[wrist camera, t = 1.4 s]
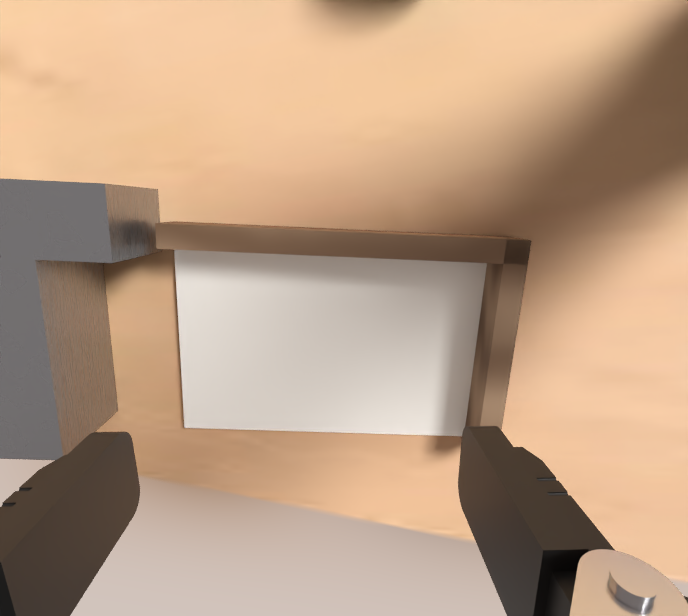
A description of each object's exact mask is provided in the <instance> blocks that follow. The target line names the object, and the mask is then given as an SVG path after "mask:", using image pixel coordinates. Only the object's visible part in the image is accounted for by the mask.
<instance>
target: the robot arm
mask: <svg viewBox="0 0 688 616" xmlns="http://www.w3.org/2000/svg"><path fill="white" fill-rule="evenodd" d="M458 489H459V497H460V502H461V506H462V509H463V512H464V514H465V517H466V519H467V521H468V524H469V526H470V528H471V531H472V533H473V536H474V538H475V540H476V543H477V545H478V547H479V550H480V552H481V554H482V557H483V559H484V562H485V564H486V566H487V569H488V571H489V573H490V576H491V578H492V581H493V583H494V585H495V588H496V590H497V593H498V595H499V597H500V600H501V602H502V604H503V607H504V609H505V612H506V614H507V616H688V597H685V596H683V595H682V593H681V592H680V591H679V590H678V588H677V587H676V586H675V585H674V584H673V583H672V582H671V581H670V580H669V579H668V578H667V577H666V576H664V575H663V574H662V573H661V572H659V571H658V570H656V569H655V568H653V567H652V566H651V565H649V564H647V563H645V562H644V561H642V560H640V559H638V558H635V557H633V556H631V555H628V554H625V553H622V552H618V551H615V550H614V549H613V547H612V546H611V545H610V544H609V542H608V541H607V540H606V539H605V538H604V536H603V535H602V534H601V533H600V531H599V530H598V529H597V528H596V526H595V525H594V524H593V523H592V521H591V520H590V519H589V518H588V517H587V515H586V514H585V513H584V512H583V510H582V509H581V508H580V507H579V505H578V504H577V503H576V502H575V501H574V499H573V498H572V497H571V496H570V495H569V496H568V494H567V491H566V489H565V488H564V487H563V486H562V484H561V483H560V482H559V481H556V477H555V476H554V475H553V473H552V472H551V471H550V470H549V468H548V467H547V466H546V465H545V464H544V462H543V461H542V460H540V459H539V458H537V457H536V456H535V455H533V454H532V453H530V452H529V451H527V450H526V449H524V448H523V447H513V446H512V444H511V443H510V442H509V440H508V439H507V438H506V436H505V435H504V434H503V432H502V431H501V430H500V428H499V427H497V426H467V427H465V428H464V429H463V433H462V442H461V454H460V466H459V479H458ZM139 496H140V486H139V480H138V473H137V467H136V461H135V454H134V448H133V442H132V438H131V436H130V434H129V433H127V432H94V433H91V434H89V435H88V436H87V437H86V438H85V439H83V440H82V441H81V442H80V443H79V444H78V445H77V446H76V447H75V448H74V449H73V450H72V451H71V452H70V453H69V454H68V455H64V456H62V457H60V458H59V459H57V460H55V461H54V462H52V463H50V464H49V465H47V466H45V467H43V468H42V469H40V470H38V471H37V472H36V473H35V474H34V475H33V476H32V477H31V478H30V479H29V480H28V481H26V482H25V483H24V484H23V485H22V486H21V487H20V489H19V491H15V492H14V493H13V494H12V495H11V496H10V497H9V498H8V499H6V500H5V501H4V502H3V505H2V507H0V616H70V615H71V613H72V612H73V610H74V609H75V607H76V605H77V604H78V602H79V601H80V599H81V598H82V596H83V594H84V593H85V591H86V590H87V588H88V587H89V585H90V583H91V582H92V580H93V579H94V577H95V576H96V574H97V573H98V571H99V569H100V568H101V566H102V565H103V563H104V562H105V560H106V558H107V557H108V555H109V554H110V552H111V551H112V549H113V547H114V546H115V544H116V543H117V541H118V540H119V538H120V537H121V535H122V533H123V532H124V530H125V529H126V527H127V526H128V524H129V522H130V521H131V519H132V518H133V516H134V514H135V512H136V509H137V506H138V502H139Z"/></svg>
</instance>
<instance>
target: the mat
mask: <svg viewBox="0 0 688 616" xmlns="http://www.w3.org/2000/svg"><path fill="white" fill-rule="evenodd" d="M174 255H175V272H176V289H177V307H178V324H179V341H180V359H181V376H182V393H183V411H184V428H206V429H239V430H272V431H305V432H338V433H371V434H403V435H436V436H462V433H463V429H464V428H465V424H466V417H467V409H468V402H469V394H470V387H471V379H472V372H473V364H474V357H475V349H476V342H477V335H478V327H479V320H480V312H481V305H482V297H483V290H484V282H485V275H486V267H487V263H471V262H448V261H425V260H402V259H379V258H356V257H333V256H310V255H287V254H264V253H241V252H218V251H195V250H174Z"/></svg>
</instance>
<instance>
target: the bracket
mask: <svg viewBox="0 0 688 616" xmlns="http://www.w3.org/2000/svg"><path fill="white" fill-rule="evenodd" d="M155 223H160V218H159V203H158V189H149V188H140V187H131V186H121V185H112V184H100V183H79V182H59V181H38V180H17V179H0V458H1V459H34V460H35V459H36V460H57V459H59V458H60V457H62V456H64V455H68V454H69V453H70V452H71V451H72V450H73V449H74V448H75V447H76V446H77V445H78V444H79V443H80V442H81V441H82V440H83V439H85V438H86V437H87V436H88V435H89V434H91V433H94V432H95V431H96V430H97V429H99V428H100V427H101V426H102V425H103V424H104V423H105V422H106V421H107V420H108V419H109V418H111V417H112V416H113V415H114V414H115V413H116V412H117V411H118V406H117V396H116V387H115V377H114V367H113V357H112V347H111V338H110V328H109V318H108V308H107V298H106V289H105V279H104V269H103V263H115V262H119V261H123V260H128V259H132V258H136V257H140V256H144V255H148V254H152V253H157V252H161V251H162V249H157V247H156V232H155Z"/></svg>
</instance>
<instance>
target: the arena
mask: <svg viewBox="0 0 688 616" xmlns="http://www.w3.org/2000/svg"><path fill="white" fill-rule="evenodd" d="M155 232H156V247H157V249H172V250H195V251H218V252H241V253H264V254H287V255H310V256H333V257H356V258H379V259H402V260H425V261H448V262H471V263H487V267H486V275H485V282H484V290H483V297H482V305H481V312H480V320H479V327H478V335H477V342H476V349H475V357H474V364H473V372H472V379H471V387H470V394H469V402H468V409H467V417H466V424H465V427H467V426H497V427H499V428H500V430H501V429H502V422H503V416H504V410H505V403H506V397H507V391H508V384H509V378H510V372H511V365H512V359H513V353H514V347H515V340H516V334H517V328H518V321H519V315H520V309H521V302H522V296H523V290H524V283H525V277H526V271H527V265H528V258H529V252H530V246H531V240H526V239H520V238H514V237H501V236H479V235H458V234H436V233H414V232H392V231H370V230H348V229H326V228H304V227H282V226H260V225H238V224H217V223H195V222H164V223H155Z"/></svg>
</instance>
